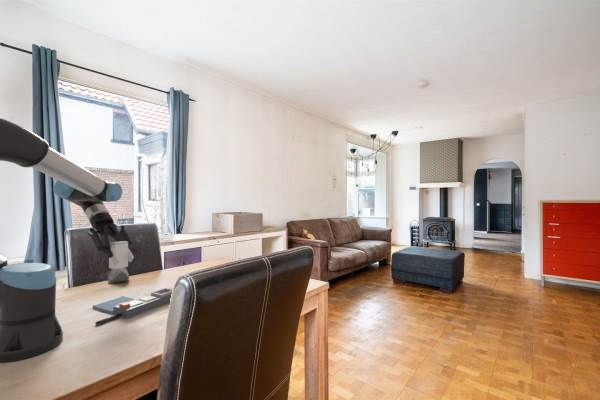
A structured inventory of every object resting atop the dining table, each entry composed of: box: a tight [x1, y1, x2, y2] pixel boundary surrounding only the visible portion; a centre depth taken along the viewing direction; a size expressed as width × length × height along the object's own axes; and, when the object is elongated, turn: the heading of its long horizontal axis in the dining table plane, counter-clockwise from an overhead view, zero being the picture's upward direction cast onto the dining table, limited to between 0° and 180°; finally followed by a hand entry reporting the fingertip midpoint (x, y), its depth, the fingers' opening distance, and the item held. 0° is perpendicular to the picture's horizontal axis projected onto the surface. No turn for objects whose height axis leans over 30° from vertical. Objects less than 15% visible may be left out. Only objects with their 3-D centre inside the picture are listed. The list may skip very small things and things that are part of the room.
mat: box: [92, 296, 136, 315], centre depth 114 cm, size 12×12×1 cm
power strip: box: [95, 287, 173, 326], centre depth 111 cm, size 32×8×4 cm, turn 154°
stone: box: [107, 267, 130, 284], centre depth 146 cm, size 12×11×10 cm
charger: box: [108, 241, 129, 270], centre depth 114 cm, size 5×4×10 cm
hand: (124, 261), depth 112 cm, fingers closed on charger, 5 cm apart
